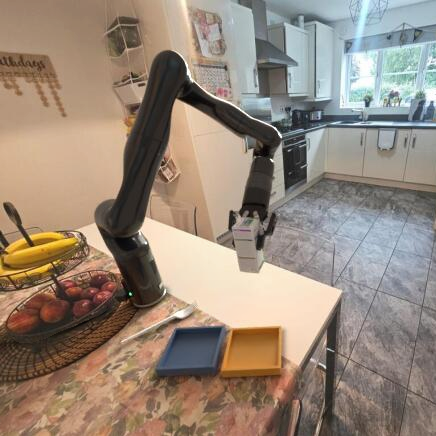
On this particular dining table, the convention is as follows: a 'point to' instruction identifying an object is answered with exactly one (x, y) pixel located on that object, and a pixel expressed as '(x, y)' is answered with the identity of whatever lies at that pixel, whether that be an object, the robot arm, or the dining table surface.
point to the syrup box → (248, 245)
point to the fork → (180, 315)
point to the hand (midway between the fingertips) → (246, 248)
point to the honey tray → (253, 352)
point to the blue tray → (192, 351)
